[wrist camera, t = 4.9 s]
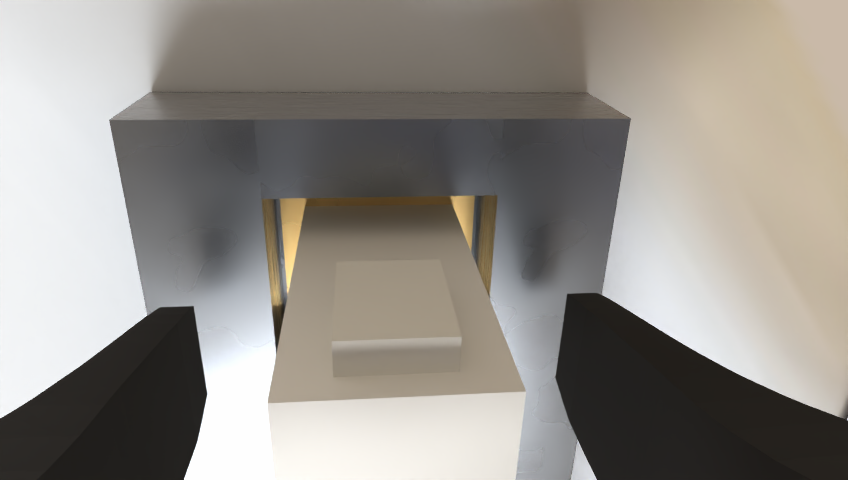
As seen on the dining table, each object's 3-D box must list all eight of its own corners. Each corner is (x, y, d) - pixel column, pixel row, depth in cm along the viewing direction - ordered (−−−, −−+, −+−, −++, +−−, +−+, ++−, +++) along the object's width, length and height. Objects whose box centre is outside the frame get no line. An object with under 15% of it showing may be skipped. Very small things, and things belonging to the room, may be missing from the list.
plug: (453, 180, 14) (530, 355, 8) (446, 327, 16) (504, 564, 10) (303, 181, 14) (263, 366, 8) (312, 331, 16) (284, 581, 10)
